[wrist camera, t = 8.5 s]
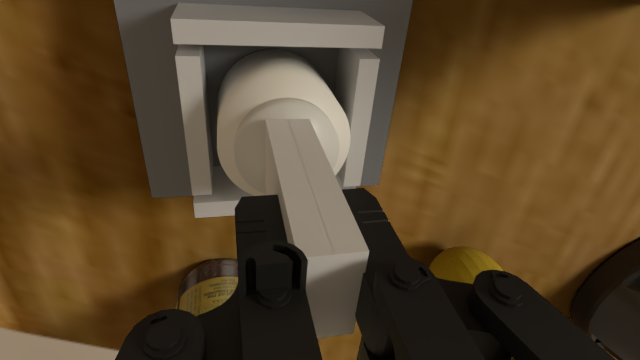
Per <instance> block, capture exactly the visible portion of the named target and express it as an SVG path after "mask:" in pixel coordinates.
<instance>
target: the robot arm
mask: <svg viewBox="0 0 640 360" xmlns="http://www.w3.org/2000/svg"><path fill="white" fill-rule="evenodd" d="M265 167H266V192H267V195H262V196H245V197H241V199H240V200H239V202H238V204H237V205H236V207H235V225H236V244H237V262H238V284H237V287H236V289H235V291H234V293H233V294H232V295H231V296H230V298H229V299H228V300H226V301H225V302H224V303H223V304H221V305H220V306H218V307H216V308H214V309H212V310H210V311H207V312H205V313H203V314H200V315H198V316H194V315H193V314H192V313H190V312H188V311H184V310H180V309H169V310H161V311H159V312H156V313H154V314H151V315H149V316H147V317H146V318H144V319H143V320H142V321H140V322H139V323H137V324H136V325H135V326H134V327H133V329H132V330H131V332H130V333H129V334H128V336H127V337H126V339H125V341H124V343H123V345H122V347H121V349H120V351H119V353H118V355H117V357H116V359H115V360H322V356H321V352H320V348H319V344H318V340H317V339H318V338H325V337H332V336H339V335H345V334H352V333H353V332H354V327H355V322H356V320H357V323H358V326H359V329H360V331H361V334H362V337H361V342H360V347H359V351H358V356H357V360H511V357H513V358H514V359H515V360H615V359H614V358H613V357H612V356H614V357H615V358H616V359H618V360H640V240H638V241H636V242H634V243H633V244H631V245H629V246H628V247H626V248H624V249H623V250H621V251H620V252H618V253H617V254H615V255H614V256H613V257H611V258H610V259H609V260H608V261H606V262H605V263H604V264H603V265H602V266H600V267H599V268H598V269H597V270H596V271H595V272H594V273H593V274H592V275H591V276H590V277H589V278H588V280H587V281H586V282H585V283H584V285H583V286H582V287H581V289H580V290H579V292H578V293H577V295H576V297H575V299H574V301H573V304H572V308H571V317H572V320H573V322H574V323H575V324H574V323H573V322H571V321H570V320H569V319H568V318H567V317H566V316H564V315H563V314H562V313H561V312H560V311H559V310H557V309H556V308H555V307H554V306H553V305H552V304H550V303H549V302H548V301H547V300H546V299H545V298H544V297H542V296H541V295H540V294H539V293H538V292H537V291H535V290H534V289H533V288H532V287H531V286H530V285H528V284H527V283H526V282H524V281H523V280H521V279H520V278H518V277H517V276H515V275H512V274H510V273H508V272H505V271H500V270H493V269H492V270H486V271H482V272H480V273H479V274H478V275H476V277H475V279H474V282H473V284H470V283H463V282H457V281H450V280H445V279H440V278H437V277H435V275H434V274H433V273H432V272H431V270H430V269H429V268H428V267H427V266H426V265H424V264H422V263H421V262H419V261H418V260H415V259H412V258H410V257H409V256H408V254H407V252H406V250H405V249H404V247H403V245H402V243H401V241H400V240H399V238H398V236H397V234H396V233H395V231H394V229H393V227H392V226H391V224H390V222H388V218H387V217H386V215H385V213H384V212H383V211H382V208H381V206H380V204H379V202H378V201H377V199H376V198H375V197H374V196H373V195H372V194H370V193H369V192H368V191H367V190H365V189H364V188H355V189H341V188H340V185H339V183H338V181H337V179H336V177H335V174H334V172H333V170H332V168H331V166H330V163H329V161H328V159H327V157H326V155H325V152H324V150H323V148H322V146H321V144H320V141H319V139H318V137H317V135H316V132H315V130H314V128H313V126H312V124H311V121H310V119H267V120H265ZM605 350H606V351H607V352H608V353H610V354H611V355H612V356H611V355H610V354H608V353H607V352H606V351H605Z"/></svg>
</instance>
